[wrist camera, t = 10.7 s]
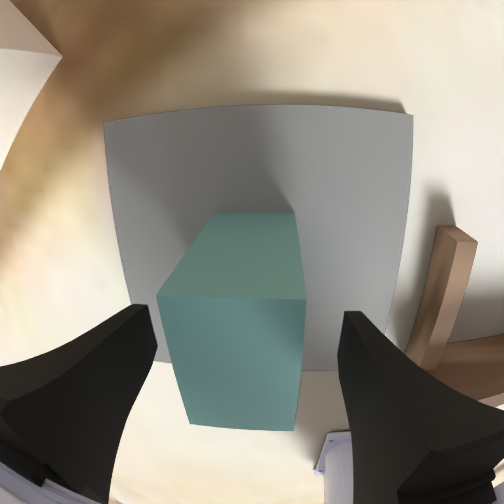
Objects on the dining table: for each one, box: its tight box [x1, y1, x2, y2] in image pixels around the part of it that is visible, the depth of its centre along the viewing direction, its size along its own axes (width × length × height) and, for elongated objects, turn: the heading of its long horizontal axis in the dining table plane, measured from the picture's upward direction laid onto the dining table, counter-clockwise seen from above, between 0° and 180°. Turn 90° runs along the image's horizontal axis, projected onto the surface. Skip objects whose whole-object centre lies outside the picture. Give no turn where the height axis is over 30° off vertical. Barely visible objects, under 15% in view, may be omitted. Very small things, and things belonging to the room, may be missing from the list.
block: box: [156, 213, 307, 431], centre depth 13 cm, size 6×4×8 cm, turn 2°
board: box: [103, 104, 413, 371], centre depth 16 cm, size 16×16×1 cm
